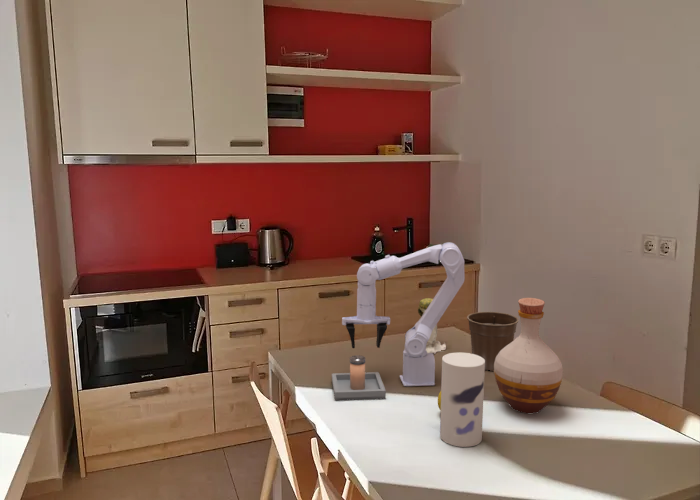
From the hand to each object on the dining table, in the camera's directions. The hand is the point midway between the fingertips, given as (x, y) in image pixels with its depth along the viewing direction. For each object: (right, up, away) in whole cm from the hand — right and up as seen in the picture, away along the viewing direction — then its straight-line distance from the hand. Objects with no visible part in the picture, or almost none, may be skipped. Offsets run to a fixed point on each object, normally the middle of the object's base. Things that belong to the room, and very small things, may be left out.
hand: (365, 347), depth 172 cm
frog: (+23, -6, +31) cm, 39 cm away
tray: (-2, -12, -6) cm, 13 cm away
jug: (+44, -14, -17) cm, 49 cm away
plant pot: (+42, -9, +14) cm, 45 cm away
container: (+22, -16, -35) cm, 44 cm away
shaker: (-2, -11, -7) cm, 13 cm away
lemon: (+21, -14, -23) cm, 34 cm away
